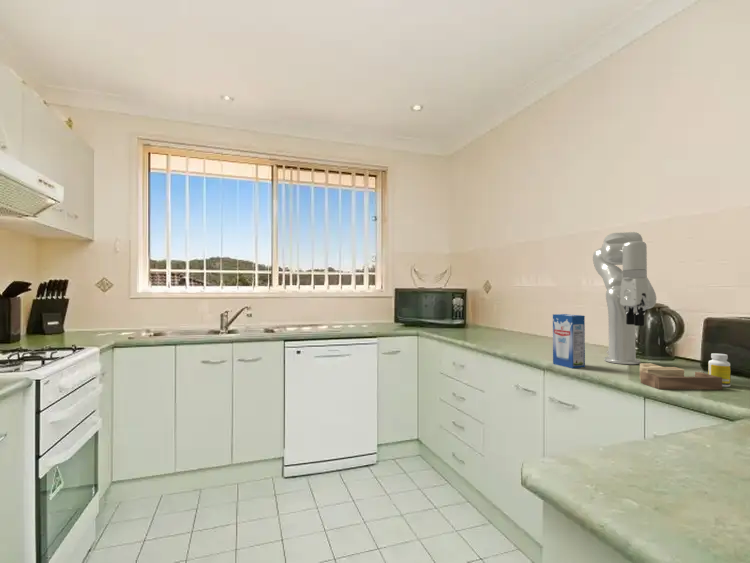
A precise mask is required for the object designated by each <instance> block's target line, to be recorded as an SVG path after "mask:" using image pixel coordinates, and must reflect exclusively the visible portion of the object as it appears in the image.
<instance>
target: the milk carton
mask: <svg viewBox="0 0 750 563" xmlns="http://www.w3.org/2000/svg"><path fill="white" fill-rule="evenodd" d="M585 317H586V316H585V315H581V314H567V313H561V314H560V313H559V314H557V313H556V314H554V313H553V314H552V365H557V366H560V367H561V366H562V367H565V368H569V369H580V368H581V367H584V368H585V367H586V350H585V349H586V345H585V344H586V341H585V340H586V337H585V336H586V335H585V334H586V330H585V327H586V326H585V321H586V320H585Z"/></svg>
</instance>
